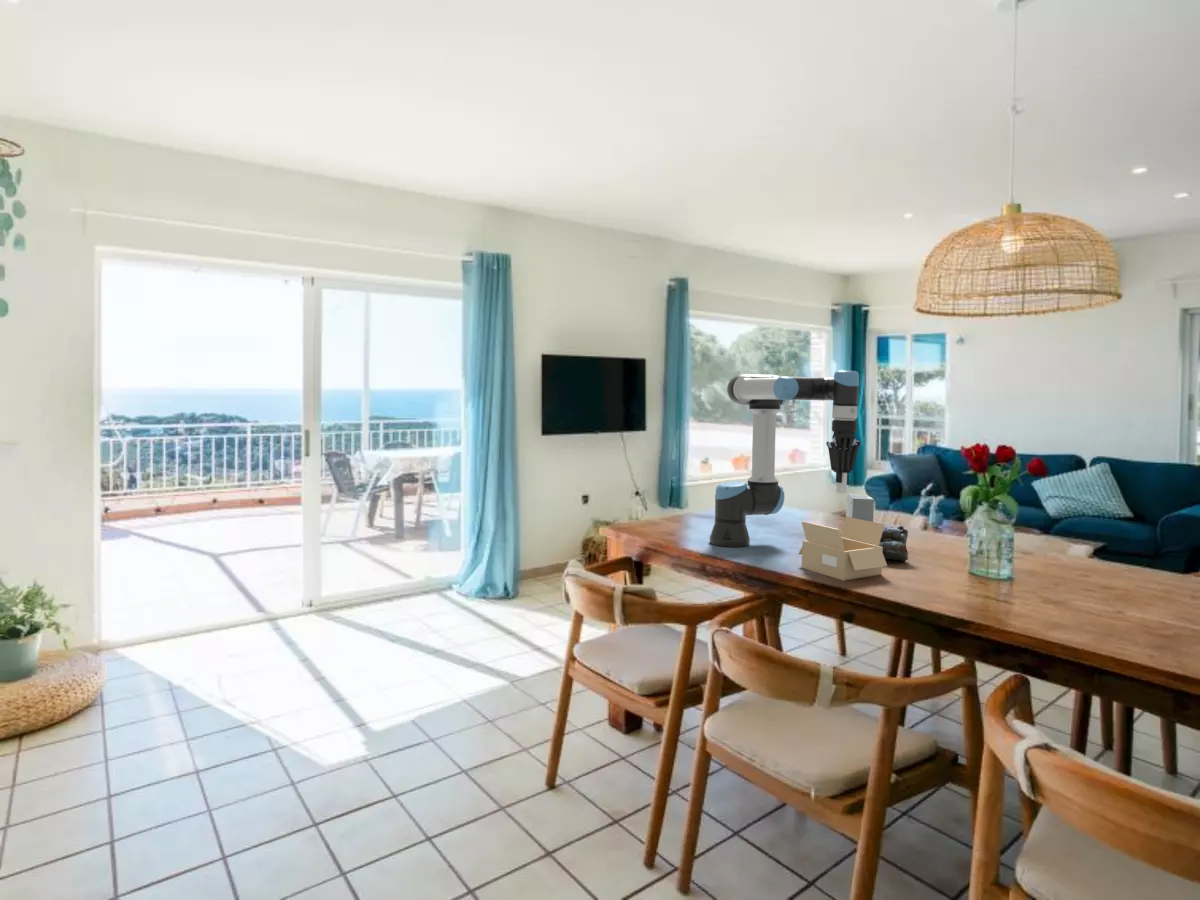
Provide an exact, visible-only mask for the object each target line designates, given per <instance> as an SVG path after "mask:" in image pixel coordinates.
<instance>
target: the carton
mask: <svg viewBox="0 0 1200 900" xmlns="http://www.w3.org/2000/svg"><path fill="white" fill-rule="evenodd" d="M841 538H842V542H843V546H844V550H842V549H838V548H834V547H830V546H826V545H823V544H819V543H815V542H811V541H807V540H806V539H805V540H802V546H801V548H800V550H799V551H798V555H799V556H800V555H801V568H802V569H804V570H808V571H811V572H815V573H818V574H821V575H825V576H828V577H832V578H834V579H837V580H840V581H842V582H843V581H848V580H849V581H850V580H856V579H863V578H868V577H877V576H882V574H883V573H882V572H883V570H882V569H883V567H884V568H885V567H888V564H887V561H886V559H885V558H884V556H883V547H880V546H876V545H872V544H868V543H864V542H860V541H855V540H851V539H847V538H845V537H841Z"/></svg>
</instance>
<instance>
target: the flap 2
mask: <svg viewBox="0 0 1200 900" xmlns="http://www.w3.org/2000/svg"><path fill="white" fill-rule="evenodd" d="M884 527H886V524H885V523H880V522H875V521H873V522H870V521H865V520H861V519H856V518H851V517H846V516H845V517H844V522H843V526H842V527H841V528H842V529H841V531H840V535H841V537H843V538H849V539H853V540H858V541H862V542H866V543H870V544H874V545H879V543H880V539H881V536H882V533H883V529H884Z"/></svg>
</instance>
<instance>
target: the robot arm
mask: <svg viewBox="0 0 1200 900" xmlns="http://www.w3.org/2000/svg"><path fill="white" fill-rule="evenodd" d="M859 388H860V374H859V372H858V371H856V370H836V371H835V372H834V375H833V377H826V376H823V377H822V376H821V377H820V376H819V377H817V376H815V377H814V376H813V377H809V376H807V377H806V376H790V375H789V376H787V375H786V376H779V375H777V374H776V375H775V374H769V373H768V374H761V373H758V374H755V373H754V374H751V373H750V374H749V373H743V374H742V373H741V374H738V375H735V376H734V377H732V378H731V379H730V380H729V382H728V383H727V387H726V393H727V395H728V397H729V399H731V400H732V401H733V402H734V403H736V404H739V405H746V406H747V405H748V408H749V411H750V412H751V413H752V441H751V442H752V445H751V446H752V450H751V454H752V457H751V475H750V477H749V478H748V479H747V482H745V481H739V480H738V481H726V482H722V483H720V484H718V485H717V486H716V488H715V494H714V497H715V499H714V500H715V507H714V525H713V526H712V530H711V533H710V535H709V543H710V544H711V545H714V546H719V547H727V548H730V547H731V548H739V547H740V548H741V547H747V546H750V544H751V540H750V534H749V531H748V528H747V524H746V523H747V516H759V515H764V516H769V515H774V514H777V513H779V512H780V511H781V509H782V508H783V505H784V503H785V491H784V488H783V486H782V485H780V483H779V480H778V479H777V477H776V476H775V468H776V467H775V465H776V464H775V463H776V431H777V430H776V428H777V427H776V426H777V424H776V423H777V421H776V420H777V414H778V412H779V411H781V406H782V405H784V404H785V402H786V401H823V402H824V401H832V419H833V420H832V421H831V431H832V433H833V435H832V437H831V438H832V439H831V440H830V441H829V440H827V441H826V446H827V449H828V455H829V462H830V470H831V471H833V472H834V473H835V474H836V475H835V482H836V491H835V492H836V493H838V494H847V485H848V484H847V483H848V481H849V480H848V479H849V474H851V473H852V471H854V470H855V469H854V468H855V464H856V459H857V454H858V449H859V447H860V445H861V441H860V440H857V439H856V435H855V433H856V432H857V429H858V427H857V426H858V421H857V420H856V419H857V418H858V408H859V407H858V405H859V392H860V391H859Z"/></svg>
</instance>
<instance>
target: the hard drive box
mask: <svg viewBox="0 0 1200 900" xmlns="http://www.w3.org/2000/svg"><path fill="white" fill-rule="evenodd" d="M874 509H875V499H874V498H872V497H871V496H870V495H869V494H863V493H862V494H861V493H846V509H845V510H846V511H845V512H846V513H845V518H846V517H851V518H856V519H861V520H865V521H870V522H874V512H875V510H874ZM847 539H849V538H847ZM851 540H853V539H851ZM855 541H858V540H855ZM860 542H862V541H860ZM864 543H866V542H864ZM868 544H870V543H868Z"/></svg>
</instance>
